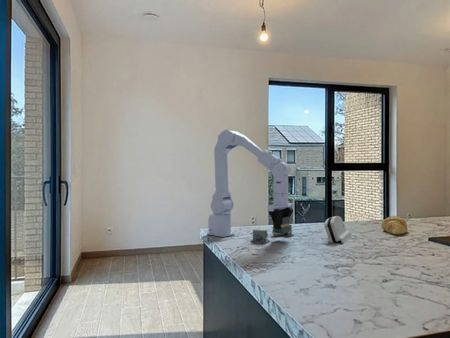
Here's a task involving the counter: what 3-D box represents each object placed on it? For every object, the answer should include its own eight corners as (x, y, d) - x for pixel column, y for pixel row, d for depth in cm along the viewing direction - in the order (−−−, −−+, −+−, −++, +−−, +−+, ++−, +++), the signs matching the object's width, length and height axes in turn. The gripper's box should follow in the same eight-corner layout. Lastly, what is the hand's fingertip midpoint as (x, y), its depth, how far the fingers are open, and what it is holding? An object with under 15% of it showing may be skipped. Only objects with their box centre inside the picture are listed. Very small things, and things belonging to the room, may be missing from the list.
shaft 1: (256, 238, 145) (256, 227, 145) (272, 239, 142) (272, 228, 142) (250, 241, 138) (250, 230, 138) (266, 243, 135) (266, 231, 135)
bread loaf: (404, 245, 146) (415, 228, 144) (380, 232, 148) (390, 215, 147) (398, 234, 166) (407, 219, 164) (377, 223, 168) (385, 208, 167)
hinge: (343, 243, 133) (333, 217, 134) (331, 247, 135) (321, 221, 137) (351, 235, 148) (342, 212, 149) (340, 238, 150) (332, 215, 151)
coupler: (272, 232, 140) (272, 216, 140) (279, 230, 144) (279, 215, 143) (282, 233, 137) (282, 218, 137) (289, 232, 140) (289, 216, 140)
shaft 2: (278, 237, 146) (278, 226, 146) (269, 234, 151) (269, 224, 151) (293, 235, 149) (293, 225, 149) (284, 233, 155) (284, 222, 155)
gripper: (278, 195, 132) (278, 231, 132) (299, 192, 143) (299, 226, 143) (263, 193, 137) (263, 229, 137) (284, 191, 147) (284, 224, 148)
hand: (280, 228), depth 140 cm, fingers closed on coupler, 5 cm apart
